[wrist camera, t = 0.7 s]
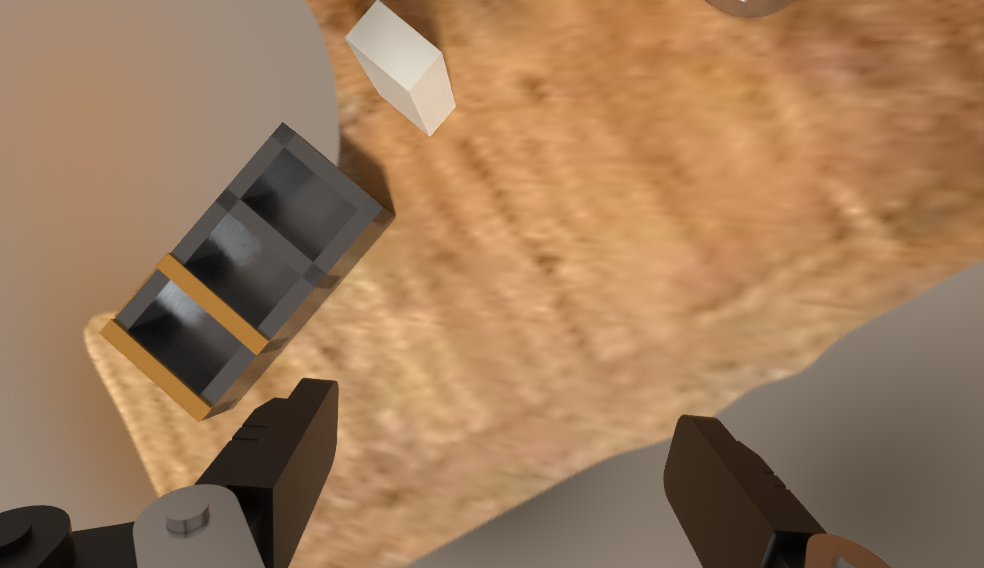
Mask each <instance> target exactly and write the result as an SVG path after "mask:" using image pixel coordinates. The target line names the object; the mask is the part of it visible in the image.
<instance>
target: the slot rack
mask: <svg viewBox="0 0 984 568" xmlns="http://www.w3.org/2000/svg"><path fill="white" fill-rule="evenodd" d="M395 218H396V217H395V216H394V215H393V214H392V213H390V212H389V211H388V210H387V209H386V208H384V207H383V206H382V205H381V204H380V203H379V202H377V201H376V200H375V199H374V198H373V197H372V196H370V195H369V194H368V193H367V192H366V191H364V190H363V189H362V188H361V187H360V186H359V185H357V184H356V183H355V182H354V181H353V180H352V179H350V178H349V177H348V176H347V175H346V174H345V173H343V172H342V171H341V170H340V169H339V168H337V167H336V166H335V165H334V164H333V163H332V162H330V161H329V160H328V159H327V158H326V157H325V156H323V155H322V154H321V153H320V152H319V151H318V150H316V149H315V148H314V147H313V146H312V145H310V144H309V143H308V142H307V141H306V140H304V139H303V138H302V137H301V136H299V135H298V134H297V133H296V132H294V131H293V130H292V129H291V128H289V127H288V126H287V125H286V124H284V123H283V122H282V124H281V125H280V126H279V127H278V128H277V129H276V131H275V132H274V133H273V134H272V135H271V136H270V138H269V139H268V140H267V141H266V142H265V143H264V145H263V146H262V147H261V148H260V149H259V151H258V152H257V153H256V154H255V155H254V156H253V158H252V159H251V160H250V161H249V162H248V163H247V164H246V166H245V167H244V168H243V169H242V170H241V171H240V173H239V174H238V175H237V176H236V177H235V179H234V180H233V181H232V182H231V183H230V184H229V186H228V187H227V188H226V189H225V190H224V191H223V193H222V194H221V195H220V196H219V197H218V198H217V200H216V201H215V202H214V203H213V204H212V205H211V207H210V208H209V209H208V210H207V211H206V212H205V214H204V215H203V216H202V217H201V218H200V220H199V221H198V222H197V223H196V224H195V225H194V226H193V228H192V229H191V230H190V231H189V232H188V233H187V235H186V236H185V237H184V238H183V239H182V240H181V242H180V243H179V244H178V245H177V246H176V247H175V249H174V250H173V251H172V252H171V253H167V254H166V255H165V256H164V258H163V259H162V260H161V261H160V262H159V263H158V265H157V266H156V268H155V269H154V271H153V272H152V273H151V274H150V275H149V276H148V278H147V279H146V280H145V281H144V282H143V283H142V284H141V286H140V287H139V288H138V289H137V290H136V292H135V293H134V294H133V295H132V296H131V297H130V299H129V300H128V301H127V302H126V303H125V305H124V306H123V307H122V308H121V309H120V310H119V311H118V313H117V314H116V315H115V317H116V318H115V319H110V321H109V322H108V323H107V324H106V325H105V326H104V328H103V329H102V330H101V331H100V332H99V334H101V335H102V336H103V337H104V338H105V339H106V340H107V341H108V342H110V343H111V344H112V345H113V346H114V347H115V348H116V349H117V350H118V351H120V352H121V353H122V354H123V355H124V356H125V357H126V358H127V359H128V360H130V361H131V362H132V363H133V364H134V365H135V366H136V367H137V368H139V369H140V370H141V371H142V372H143V373H144V374H145V375H146V376H147V377H149V378H150V379H151V380H152V381H153V382H154V383H155V384H156V385H158V386H159V387H160V388H161V389H162V390H163V391H164V392H165V393H166V394H168V395H169V396H170V397H171V398H172V399H173V400H174V401H175V402H176V403H178V404H179V405H180V406H181V407H182V408H183V409H184V410H185V411H187V412H188V413H189V414H190V415H191V416H192V417H193V418H194V419H195V420H197V421H198V422H200V421H202V420H205V419H207V418H210V417H212V416H215V415H218V414H220V413H223V412H225V411H228V410H230V409H233V408H234V407H235V406H236V404H237V403H238V402H239V401H240V400H241V398H242V397H243V396H244V395H245V394H246V393H247V391H248V390H249V389H250V388H251V387H252V386H253V384H254V383H255V382H256V381H257V380H258V379H259V377H260V376H261V375H262V374H263V373H264V371H265V370H266V369H267V368H268V367H269V366H270V364H271V363H272V362H273V361H274V360H275V359H276V357H277V356H278V355H279V354H280V353H281V352H282V350H283V349H284V348H285V347H286V346H287V345H288V343H289V342H290V341H291V340H292V339H293V337H294V336H295V335H296V334H297V333H298V332H299V330H300V329H301V328H302V327H303V326H304V325H305V323H306V322H307V321H308V320H309V319H310V318H311V316H312V315H313V314H314V313H315V312H316V311H317V309H318V308H319V307H320V306H321V305H322V303H323V302H324V301H325V300H326V299H327V298H328V296H329V295H330V294H331V293H332V292H333V291H334V289H335V288H336V287H337V286H338V285H339V284H340V282H341V281H342V280H343V279H344V278H345V276H346V275H347V274H348V273H349V272H350V271H351V269H352V268H353V267H354V266H355V265H356V264H357V262H358V261H359V260H360V259H361V258H362V257H363V255H364V254H365V253H366V252H367V251H368V250H369V248H370V247H371V246H372V245H373V244H374V242H375V241H376V240H377V239H378V238H379V237H380V235H381V234H382V233H383V232H384V231H385V230H386V228H387V227H388V226H389V225H390V224H391V223H392V221H393V220H394V219H395Z"/></svg>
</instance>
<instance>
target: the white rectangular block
mask: <svg viewBox="0 0 984 568" xmlns="http://www.w3.org/2000/svg"><path fill="white" fill-rule="evenodd" d="M345 40H346V41H347V43H348V45H349V46H350V48H351V49H352V51H353V53H354V54H355V56H356V58H357V59H358V61H359V62H360V64H361V66H362V67H363V69H364V70H365V72H366V74H367V75H368V77H369V79H370V80H371V82H372V83H373V85H374V87H375V88H376V90H377V92H378V93H379V95H380V96H381V97H383V98H384V99H385V100H386V101H387V102H389V103H390V104H391V105H392V106H393V107H395V108H396V109H397V110H398V111H399V112H401V113H402V114H403V115H404V116H405V117H407V118H408V119H409V120H410V121H411V122H412V123H414V124H415V125H416V126H417V127H418V128H420V129H421V130H422V131H423V132H424V133H426V134H427V135H428V136H429V137H430V136H431V135H432V134H433V133H434V132H435V130H436V129H437V128H438V127H439V126H440V125H441V123H442V122H443V121H444V120H445V119H446V118H447V116H448V115H449V114H450V113H451V112H452V110H453V109H454V108H455V107H456V105H455V101H454V97H453V94H452V90H451V86H450V82H449V78H448V74H447V70H446V66H445V63H444V59H443V55H442V52H441V51H439V50H438V49H437V48H436V47H435V46H433V45H432V44H431V43H430V42H429V41H427V40H426V39H425V38H424V37H423V36H421V35H420V34H419V33H418V32H417V31H415V30H414V29H413V28H412V27H411V26H409V25H408V24H407V23H406V22H404V21H403V20H402V19H401V18H400V17H398V16H397V15H396V14H395V13H394V12H392V11H391V10H390V9H389V8H388V7H386V6H385V5H384V4H383V3H382V2H380V1H379V0H376V2H375V3H374V4H373V5H372V6H371V7H370V9H369V10H368V11H367V12H366V13H365V14H364V16H363V17H362V18H361V19H360V20H359V21H358V23H357V24H356V25H355V26H354V27H353V28H352V30H351V31H350V32H349V33H348V34H347V35H346V37H345Z"/></svg>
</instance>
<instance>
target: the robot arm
mask: <svg viewBox="0 0 984 568" xmlns="http://www.w3.org/2000/svg"><path fill="white" fill-rule="evenodd" d="M707 1H708V2H709V3H710V4H711V5H713V6H714V7H716V8H718V9H719V10H721V11H723V12H726V13H728V14H731V15H734V16H741V17H761V16H765V15H768V14H772V13H775V12H777V11H779V10H781V9H783V8H785V7H786V6H787V5H788V4H790V3H791V2H792V1H793V0H707ZM338 394H339V388H338V382H337V381H332V380H321V379H311V378H303V379H301V381H300V382H299V383H298V385H297V386H296V388H295V389H294V390H293V392H292V393H291V395H290V396H289V397H288V399H284V398H273V399H271V400H270V401H268V402H266V403H265V404H263V405H261V406H260V407H258V408H256V409H255V410H254V411H253V412H252V413H251V415H250V416H249V417H248V418H247V420H246V421H245V422H244V423H243V425H242V428H239V430H238V431H237V432H236V433H235V435H234V436H233V437H232V441H229V442H228V443H227V445H226V446H225V447H224V448H223V450H222V451H221V452H220V453H219V455H218V456H217V457H216V458H215V460H214V461H213V462H212V463H211V465H210V466H209V467H208V468H207V469H206V471H205V472H204V473H203V474H202V476H201V477H200V478H199V479H198V481H197V482H196V483H195V484H194V485H193V486H188V487H184V488H180V489H177V490H174V491H172V492H170V493H167V494H165V495H163V496H161V497H160V498H158V499H156V500H155V501H153V502H152V503H151V504H149V505H148V506H147V507H146V508H145V509H144V510H143V511H142V512H141V513H140V515H139V516H138V518H137V519H136V521H134V522H129V523H124V524H119V525H112V526H106V527H99V528H93V529H87V530H80V531H75V532H72V528H71V522H70V518H69V515H68V514H67V513H66V512H65V511H64V510H62V509H60V508H57V507H53V506H45V505H43V506H42V505H41V506H28V507H21V508H16V509H12V510H9V511H5V512H2V513H0V568H288V567H289V564H290V562H291V560H292V557H293V555H294V553H295V550H296V548H297V546H298V544H299V541H300V539H301V537H302V534H303V532H304V530H305V527H306V525H307V523H308V520H309V518H310V516H311V514H312V511H313V509H314V507H315V504H316V502H317V500H318V497H319V495H320V493H321V491H322V488H323V486H324V484H325V481H326V479H327V477H328V474H329V472H330V470H331V467H332V464H333V460H334V456H335V451H336V444H337V422H338ZM664 488H665V493H666V496H667V499H668V501H669V503H670V505H671V506H672V508H673V510H674V512H675V514H676V516H677V518H678V520H679V522H680V524H681V526H682V528H683V529H684V532H685V534H686V535H687V537H688V539H689V541H690V543H691V545H692V547H693V549H694V551H695V552H696V555H697V556H698V559H699V560H700V562H701V564H702V566H703V568H891V567H890V566H889V565H888V564H887V563H886V562H885V561H884V560H883V559H881V558H880V557H879V556H877V555H876V554H874V553H873V552H872V551H870V550H868V549H867V548H865V547H863V546H861V545H860V544H857V543H855V542H854V541H851V540H848V539H846V538H843V537H840V536H836V535H832V534H827V533H826V531H825V530H824V529H823V528H822V527H821V526H820V525H819V523H818V522H817V521H816V520H815V519H814V518H813V517H812V516H811V514H810V513H809V512H808V511H807V510H806V508H805V507H804V506H803V505H802V504H801V503H800V502H799V501H798V500H797V498H796V497H795V496H794V495H793V494H792V493H791V491H790V490H787V489H786V486H785V484H784V483H783V482H782V481H781V480H780V479H779V478H778V477H777V476H775V475H774V472H773V471H772V470H771V468H770V467H769V466H768V465H767V464H766V463H765V462H764V461H763V459H762V458H761V457H760V456H759V455H758V454H756V453H755V452H753V451H752V450H751V449H749V448H748V447H746V446H745V445H744V444H742V443H741V442H739V441H736V440H735V439H734V437H733V436H732V435H731V434H730V433H729V431H728V430H727V429H726V428H725V427H724V425H723V424H722V423H721V422H720V421H719V420H718V419H717V418H714V417H704V416H693V415H682V416H681V417H680V418H679V419H678V422H677V425H676V428H675V432H674V436H673V439H672V443H671V447H670V451H669V455H668V458H667V462H666V465H665V470H664Z"/></svg>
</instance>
